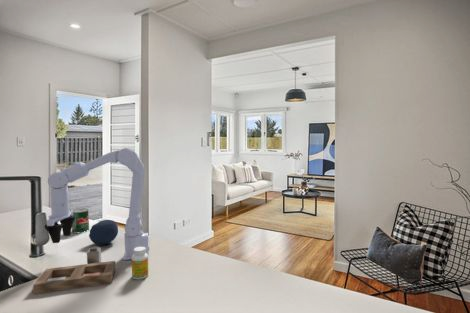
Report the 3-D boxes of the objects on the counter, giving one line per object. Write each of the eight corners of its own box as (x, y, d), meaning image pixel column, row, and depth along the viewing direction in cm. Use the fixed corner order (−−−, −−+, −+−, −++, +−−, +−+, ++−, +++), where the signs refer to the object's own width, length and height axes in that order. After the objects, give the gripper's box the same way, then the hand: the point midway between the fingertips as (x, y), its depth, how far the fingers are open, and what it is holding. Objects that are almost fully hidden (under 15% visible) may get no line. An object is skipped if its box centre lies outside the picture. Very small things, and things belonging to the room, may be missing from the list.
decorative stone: (98, 239, 133) (97, 218, 132) (122, 239, 133) (122, 218, 132) (84, 248, 121) (83, 226, 121) (111, 248, 121) (110, 226, 120)
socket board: (115, 268, 102) (115, 259, 102) (111, 283, 92) (110, 273, 91) (46, 277, 96) (46, 267, 96) (33, 294, 85) (33, 283, 85)
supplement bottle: (133, 281, 93) (132, 252, 92) (131, 274, 98) (130, 247, 97) (149, 277, 95) (149, 249, 95) (146, 271, 100) (146, 244, 100)
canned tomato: (83, 233, 142) (83, 212, 141) (68, 233, 142) (67, 212, 141) (92, 228, 150) (91, 208, 149) (77, 228, 150) (76, 208, 149)
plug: (101, 262, 108) (100, 245, 107) (99, 266, 104) (98, 249, 103) (89, 263, 106) (89, 246, 106) (87, 268, 103) (86, 250, 102)
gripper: (59, 199, 111) (60, 233, 112) (36, 208, 97) (38, 246, 98) (77, 199, 112) (79, 232, 113) (58, 208, 97) (59, 245, 98)
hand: (61, 239), depth 105 cm, fingers open, 7 cm apart
